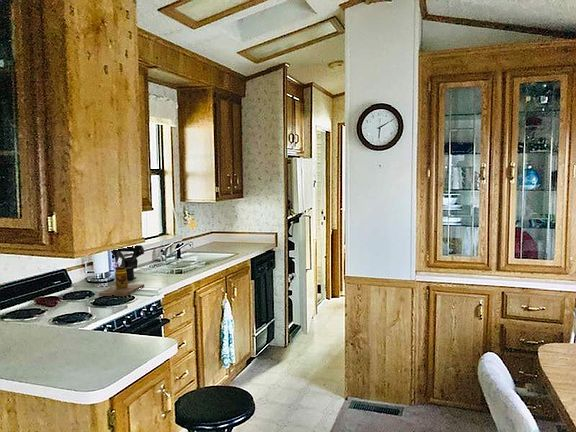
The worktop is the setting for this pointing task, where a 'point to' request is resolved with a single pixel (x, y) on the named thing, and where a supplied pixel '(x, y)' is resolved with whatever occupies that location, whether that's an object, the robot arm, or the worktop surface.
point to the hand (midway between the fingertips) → (123, 262)
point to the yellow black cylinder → (121, 278)
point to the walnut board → (121, 292)
